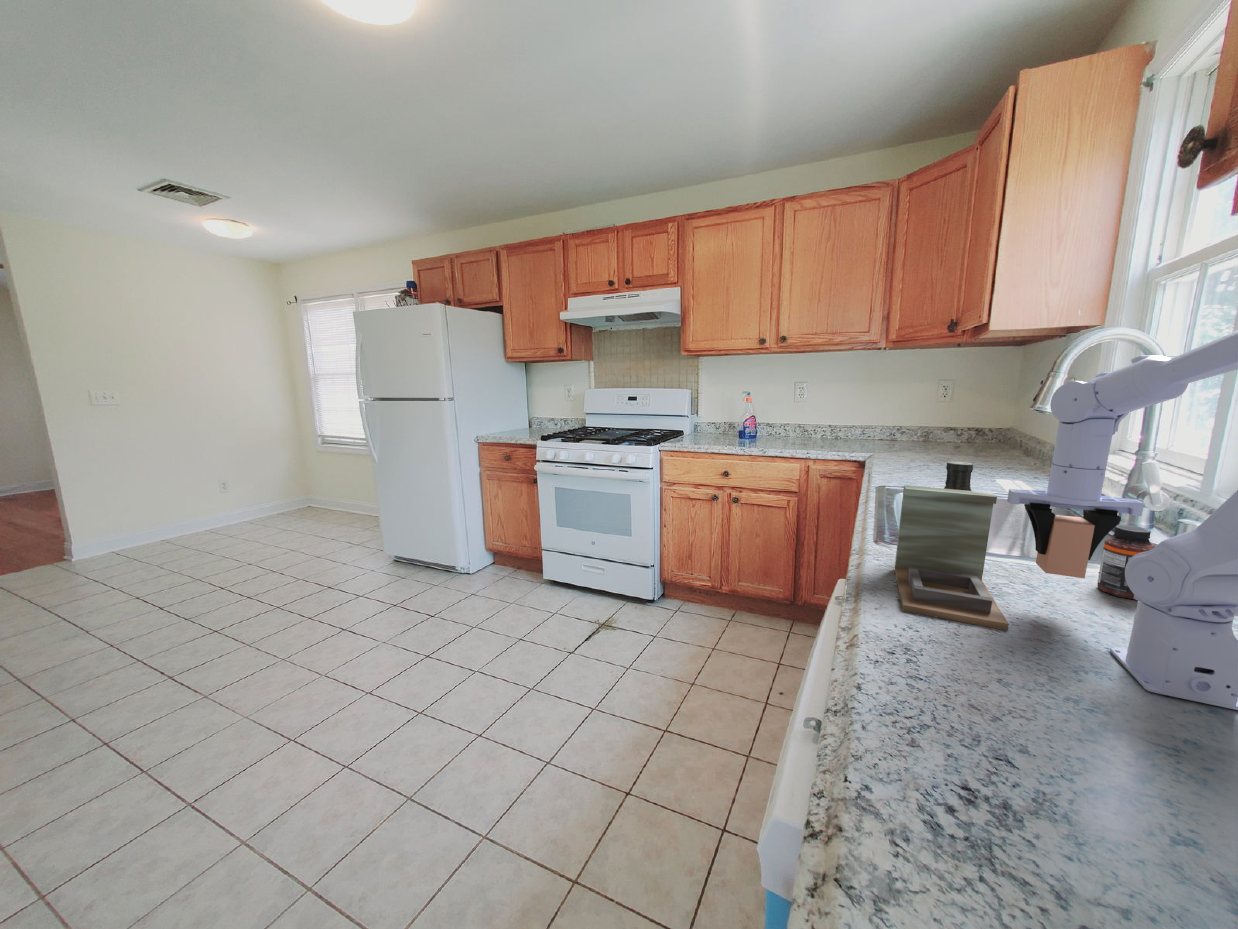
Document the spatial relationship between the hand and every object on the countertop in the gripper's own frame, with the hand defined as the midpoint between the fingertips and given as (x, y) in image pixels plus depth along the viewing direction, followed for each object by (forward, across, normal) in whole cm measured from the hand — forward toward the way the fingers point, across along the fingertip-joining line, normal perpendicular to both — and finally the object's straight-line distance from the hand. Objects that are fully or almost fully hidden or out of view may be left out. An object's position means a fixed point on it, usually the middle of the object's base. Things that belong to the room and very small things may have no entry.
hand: (1062, 555), depth 71 cm
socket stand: (+9, +14, 0) cm, 17 cm away
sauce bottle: (+10, +11, -16) cm, 22 cm away
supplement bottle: (+10, -13, -14) cm, 21 cm away
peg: (+2, 0, 0) cm, 2 cm away
